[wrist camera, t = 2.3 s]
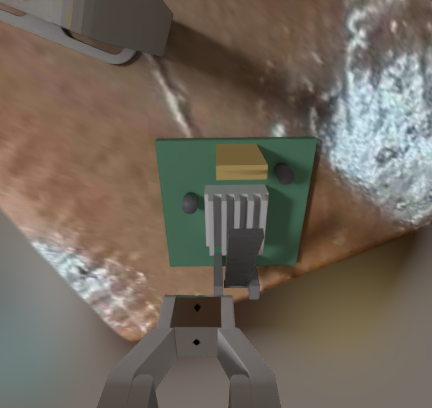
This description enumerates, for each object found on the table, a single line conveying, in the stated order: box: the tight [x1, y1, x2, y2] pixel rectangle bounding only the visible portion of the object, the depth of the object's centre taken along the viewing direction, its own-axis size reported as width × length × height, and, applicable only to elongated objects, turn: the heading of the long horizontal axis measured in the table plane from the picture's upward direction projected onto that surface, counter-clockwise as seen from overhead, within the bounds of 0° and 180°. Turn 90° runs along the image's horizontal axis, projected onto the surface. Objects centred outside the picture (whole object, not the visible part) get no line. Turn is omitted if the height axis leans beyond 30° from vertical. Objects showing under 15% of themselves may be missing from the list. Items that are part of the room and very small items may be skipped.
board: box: [155, 137, 317, 299], centre depth 33 cm, size 20×20×9 cm
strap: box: [224, 228, 264, 288], centre depth 29 cm, size 3×16×1 cm
